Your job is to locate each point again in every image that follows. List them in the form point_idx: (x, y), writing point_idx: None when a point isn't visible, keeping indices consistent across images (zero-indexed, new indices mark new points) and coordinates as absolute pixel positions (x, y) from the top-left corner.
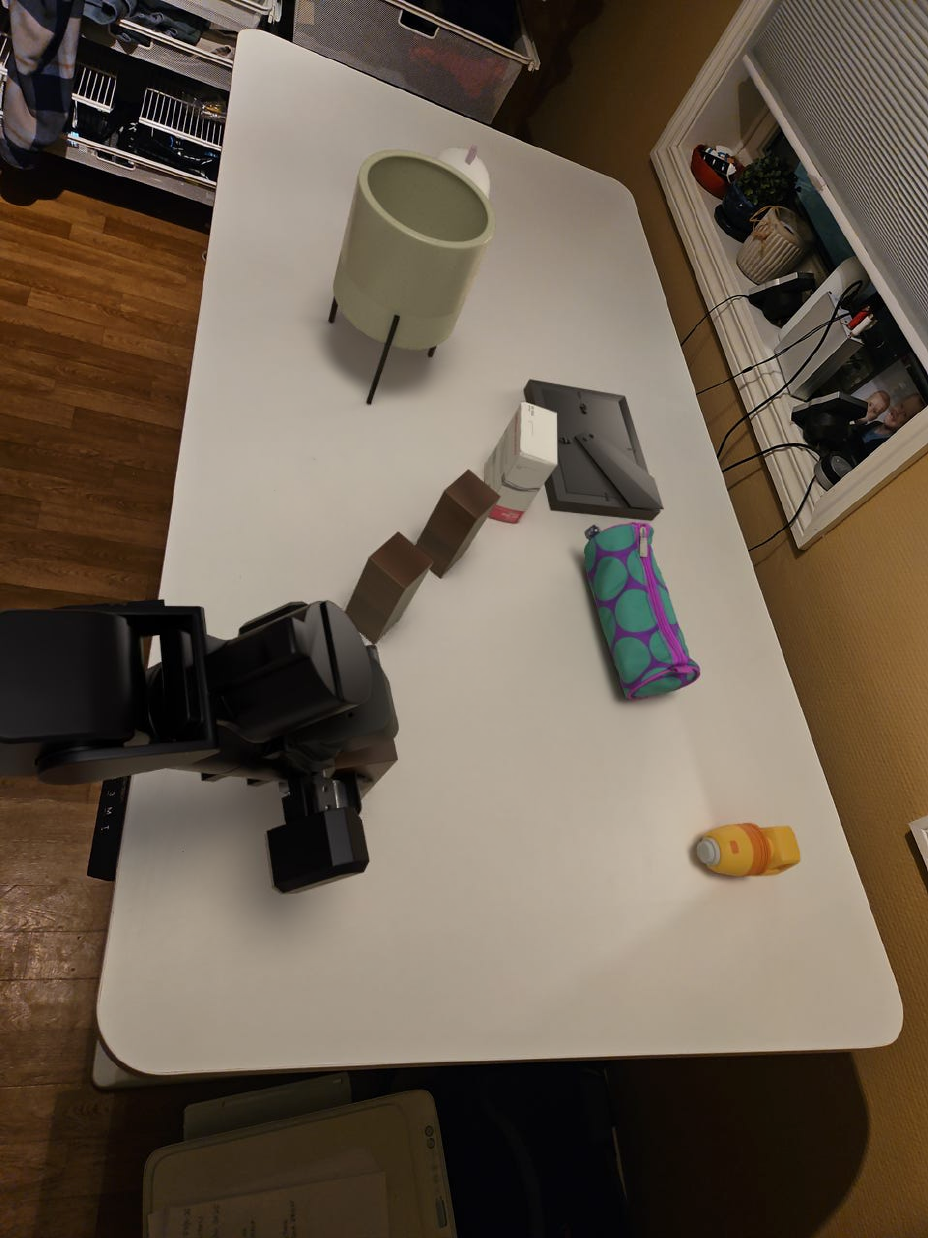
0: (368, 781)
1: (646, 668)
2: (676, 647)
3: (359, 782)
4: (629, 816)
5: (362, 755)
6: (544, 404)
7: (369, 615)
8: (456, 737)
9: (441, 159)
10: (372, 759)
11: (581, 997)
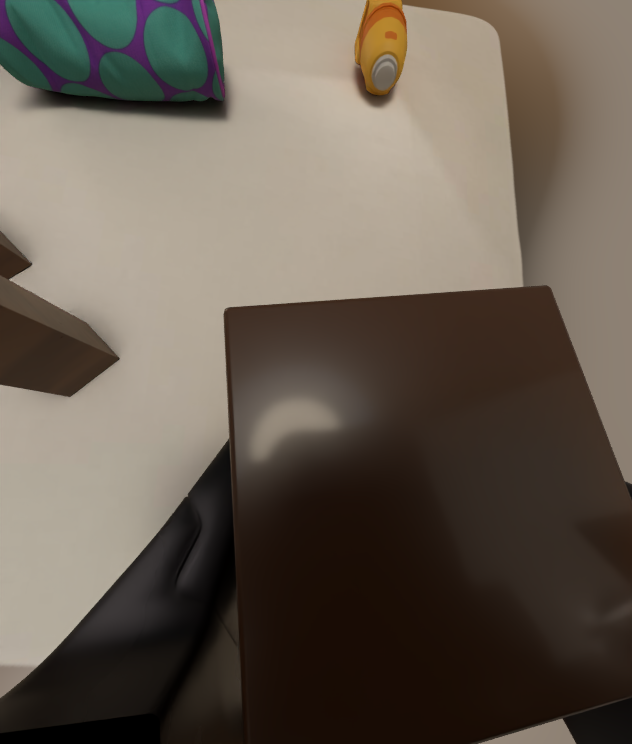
0: None
1: (190, 21)
2: None
3: None
4: (340, 142)
5: (574, 478)
6: None
7: (54, 360)
8: (250, 281)
9: None
10: (584, 418)
11: (484, 221)
